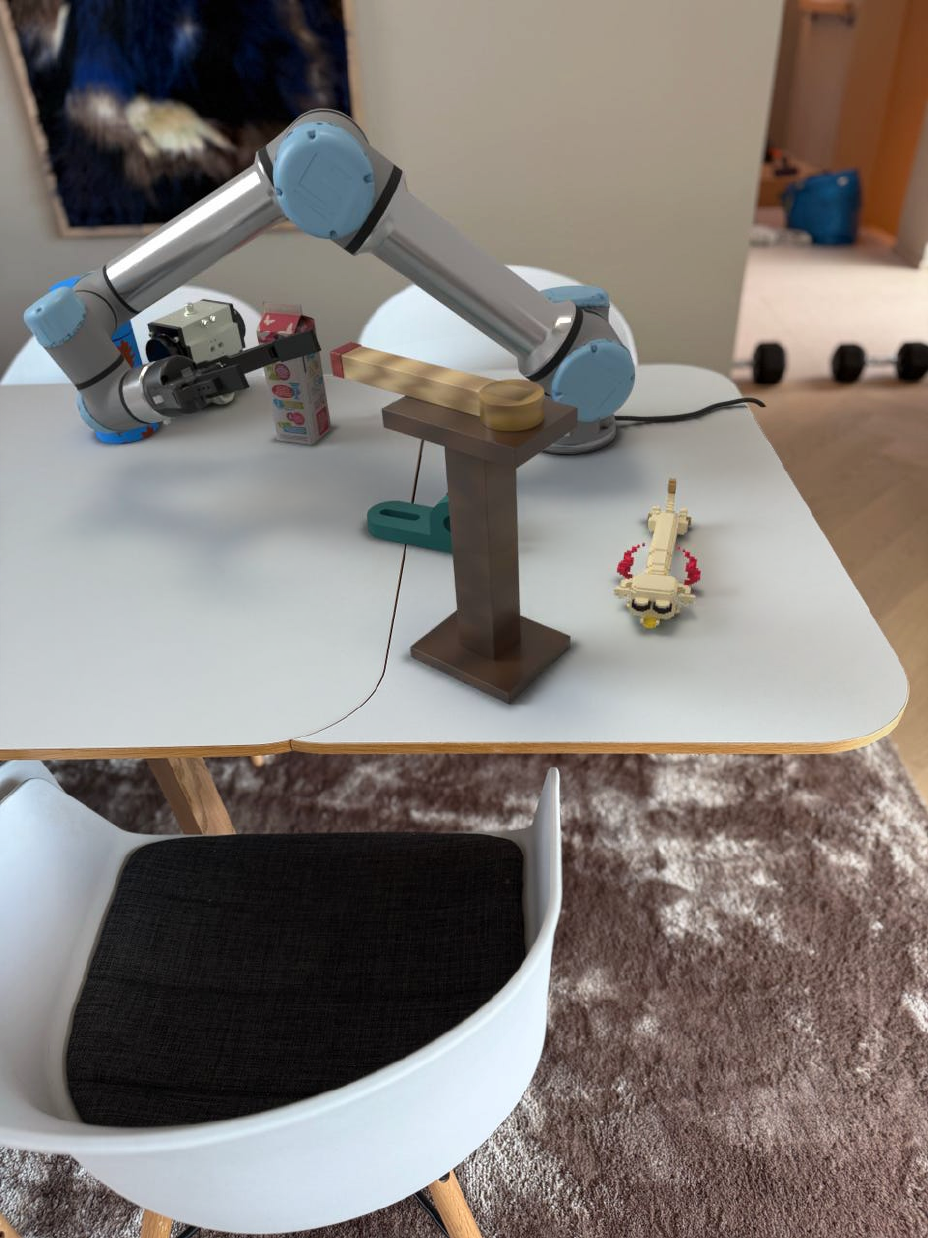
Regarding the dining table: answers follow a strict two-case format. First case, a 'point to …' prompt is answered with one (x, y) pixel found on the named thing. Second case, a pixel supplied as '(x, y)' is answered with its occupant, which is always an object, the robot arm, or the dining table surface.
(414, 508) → the bracket
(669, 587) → the cream toy animal figure
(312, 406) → the juice carton
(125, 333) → the thermos
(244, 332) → the ball valve
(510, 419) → the pointer
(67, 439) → the dining table surface
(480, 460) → the stand
